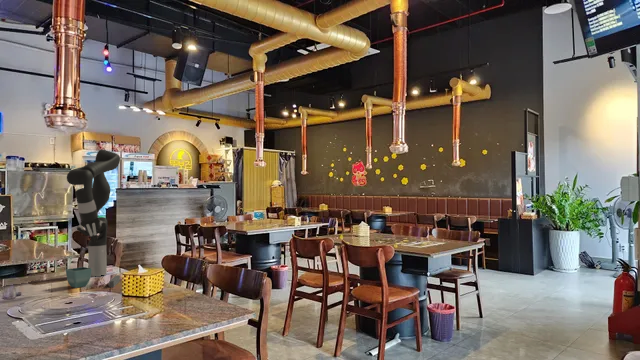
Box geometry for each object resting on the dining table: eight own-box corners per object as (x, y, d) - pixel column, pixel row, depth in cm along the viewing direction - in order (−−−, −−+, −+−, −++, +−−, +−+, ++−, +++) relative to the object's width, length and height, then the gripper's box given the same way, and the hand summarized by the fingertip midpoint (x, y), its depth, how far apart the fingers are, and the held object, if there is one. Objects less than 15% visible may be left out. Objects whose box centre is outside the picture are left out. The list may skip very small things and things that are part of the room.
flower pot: (92, 285, 209) (92, 268, 210) (74, 289, 202) (74, 271, 202) (83, 284, 214) (83, 266, 214) (65, 287, 206) (65, 269, 207)
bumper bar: (109, 287, 204) (109, 281, 205) (115, 281, 220) (115, 275, 220) (113, 287, 205) (113, 281, 205) (119, 280, 220) (119, 275, 220)
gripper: (71, 215, 193) (79, 248, 198) (102, 209, 198) (110, 241, 204) (72, 209, 199) (80, 241, 205) (102, 204, 205) (109, 235, 210)
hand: (95, 241), depth 204 cm, fingers closed
